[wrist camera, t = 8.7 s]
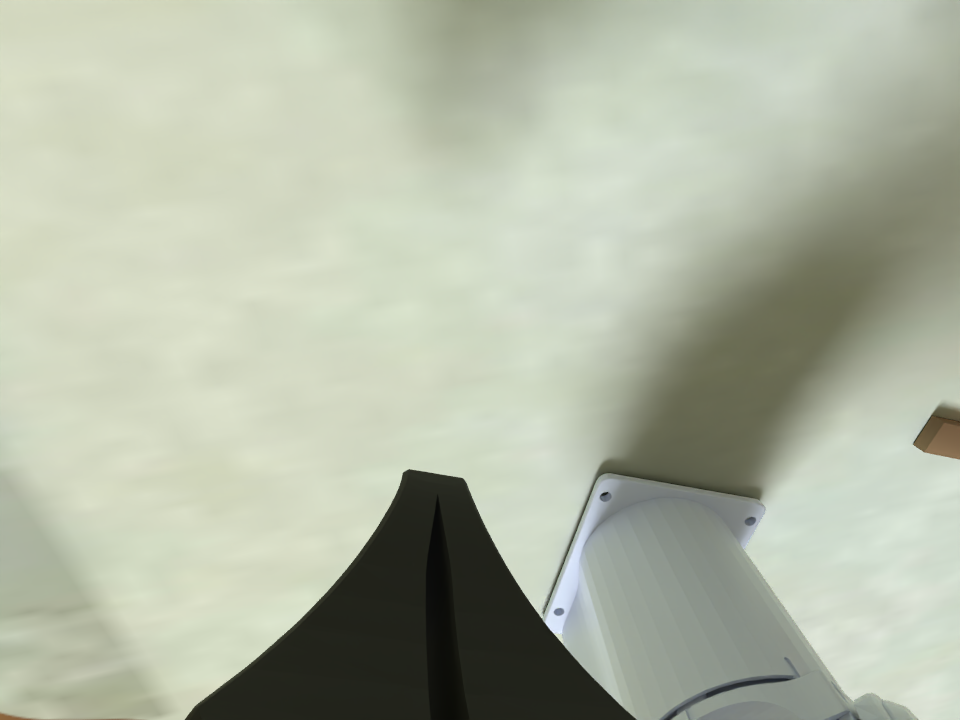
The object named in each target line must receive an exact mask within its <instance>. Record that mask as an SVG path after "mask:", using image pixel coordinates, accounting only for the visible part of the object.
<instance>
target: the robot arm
mask: <svg viewBox="0 0 960 720" xmlns="http://www.w3.org/2000/svg"><path fill="white" fill-rule="evenodd" d="M604 492H609V493H608V494H607V495H605V496H600V495H601V494H602V493H604ZM764 514H765V506H764V505H763V504H762V503H761V502H760V500H758V499H754V498H748V497H743V496H737V495H731V494H726V493H720V492H714V491H708V490H703V489H697V488H691V487H686V486H680V485H674V484H669V483H663V482H657V481H651V480H646V479H640V478H634V477H629V476H623V475H617V474H612V473H606V474H603V475H601V476H600V477H599V478H598V479H597V481H596V483H595V486H594V488H593V491H592V493H591V496H590V499H589V501H588V504H587V506H586V509H585V511H584V514H583V516H582V519H581V522H580V524H579V527H578V529H577V532H576V534H575V537H574V539H573V542H572V545H571V547H570V550H569V552H568V555H567V557H566V560H565V562H564V565H563V568H562V570H561V573H560V575H559V578H558V580H557V583H556V585H555V588H554V591H553V593H552V596H551V598H550V601H549V603H548V606H547V608H546V611H545V613H544V616H543V619H542V618H541V617H540V616H539V614H538V613H537V612H536V610H535V609H534V607H533V606H532V605H531V603H530V602H529V600H528V599H527V597H526V596H525V595H524V593H523V592H522V590H521V588H520V587H519V585H518V584H517V582H516V581H515V579H514V577H513V576H512V574H511V572H510V571H509V569H508V568H507V566H506V564H505V563H504V561H503V559H502V557H501V555H500V554H499V552H498V550H497V548H496V546H495V544H494V542H493V541H492V539H491V537H490V535H489V533H488V531H487V529H486V527H485V525H484V523H483V521H482V519H481V516H480V514H479V512H478V510H477V508H476V505H475V503H474V501H473V498H472V496H471V493H470V491H469V488H468V486H467V483H466V482H465V480H464V479H463V478H458V477H452V476H446V475H440V474H434V473H428V472H422V471H416V470H410V469H409V470H407V471H405V472H404V473H403V475H402V480H401V483H400V486H399V489H398V491H397V493H396V496H395V498H394V499H393V501H392V503H391V505H390V507H389V509H388V511H387V512H386V514H385V516H384V517H383V519H382V521H381V522H380V524H379V526H378V527H377V529H376V530H375V532H374V533H373V535H372V536H371V537H370V539H369V540H368V542H367V543H366V544H365V546H364V547H363V549H362V550H361V551H360V553H359V554H358V556H357V557H356V558H355V560H354V561H353V562H352V563H351V565H350V566H349V567H348V568H347V570H346V571H345V572H344V573H343V574H342V576H341V577H340V578H339V579H338V580H337V581H336V582H335V584H334V585H333V586H332V587H331V588H330V589H329V590H328V592H327V593H326V594H325V595H324V596H323V597H322V598H321V599H320V600H319V601H318V602H317V603H316V604H315V605H314V606H313V607H312V608H311V609H310V610H309V611H308V612H307V613H306V614H305V615H304V616H303V617H302V618H301V619H300V620H299V621H298V622H297V623H296V624H295V625H294V626H293V627H292V628H291V629H290V630H288V631H287V632H286V633H285V634H284V635H283V636H282V637H281V638H279V639H278V640H277V641H276V642H275V643H274V644H273V645H272V646H270V647H269V648H268V649H267V650H266V651H265V652H264V653H262V654H261V655H260V656H259V657H258V658H257V659H256V660H254V661H253V662H252V663H251V664H249V665H248V666H247V667H246V668H245V669H243V670H242V671H241V672H239V673H238V674H237V675H235V676H234V677H233V678H231V679H230V680H229V681H227V682H226V683H225V684H223V685H222V686H221V687H220V688H218V689H217V690H216V691H214V692H213V693H212V694H210V695H209V696H208V697H206V698H205V699H204V700H202V701H201V702H200V703H198V704H197V705H196V706H195V707H194V708H193V710H192V711H191V712H190V713H189V715H188V716H187V717H186V719H185V720H918V719H917V717H916V716H915V715H914V714H913V713H912V712H911V711H910V710H909V709H908V708H906V707H905V706H902V705H899V704H896V703H893V702H890V701H887V700H884V701H883V700H882V699H881V698H880V697H879V696H877V695H876V694H873V693H868V694H865V695H863V696H861V697H860V698H858V699H856V700H854V702H853V701H852V700H851V699H850V698H849V697H848V696H847V695H846V694H845V693H844V692H843V690H842V689H841V687H840V686H839V685H838V683H837V682H836V680H835V679H834V677H833V676H832V675H831V673H830V672H829V670H828V669H827V667H826V666H825V665H824V663H823V662H822V660H821V659H820V657H819V656H818V655H817V653H816V652H815V650H814V649H813V648H812V646H811V645H810V643H809V642H808V640H807V639H806V638H805V636H804V635H803V633H802V632H801V630H800V629H799V628H798V626H797V625H796V623H795V622H794V620H793V619H792V618H791V616H790V615H789V613H788V612H787V610H786V609H785V608H784V606H783V605H782V603H781V602H780V600H779V599H778V598H777V596H776V595H775V593H774V592H773V590H772V589H771V588H770V586H769V585H768V583H767V582H766V580H765V579H764V578H763V576H762V575H761V573H760V572H759V570H758V569H757V568H756V566H755V565H754V563H753V562H752V560H751V559H750V558H749V556H748V555H747V553H746V552H745V550H744V549H745V548H746V546H747V544H748V542H749V540H750V539H751V537H752V535H753V533H754V532H755V530H756V528H757V526H758V524H759V523H760V521H761V519H762V517H763V515H764ZM748 517H750V518H749V519H747V518H748ZM746 519H747V520H746ZM557 608H559V609H557ZM553 633H557V634H562V638H563V642H564V645H563V644H562V643H561V642H560V641H559V639H558V638H557V637H556V636H555V635H554V634H553Z"/></svg>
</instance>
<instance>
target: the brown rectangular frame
mask: <svg viewBox="0 0 960 720" xmlns="http://www.w3.org/2000/svg"><path fill="white" fill-rule="evenodd" d="M913 445H914V446H916V447H917V448H919V449H920V450H922V451H923V452H925V453H930V454H935V455H940V456H945V457H950V458H955V459H960V422H959V421H954V420H949V419H945V418H940V417H935V416H932V417H931V418H930V420H929V421H928V423H927V424H926V426H925V427H924V429H923V430H922V432H921V433H920V435H919V437H918V438H917V440H916V441H915V443H914V444H913Z"/></svg>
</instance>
